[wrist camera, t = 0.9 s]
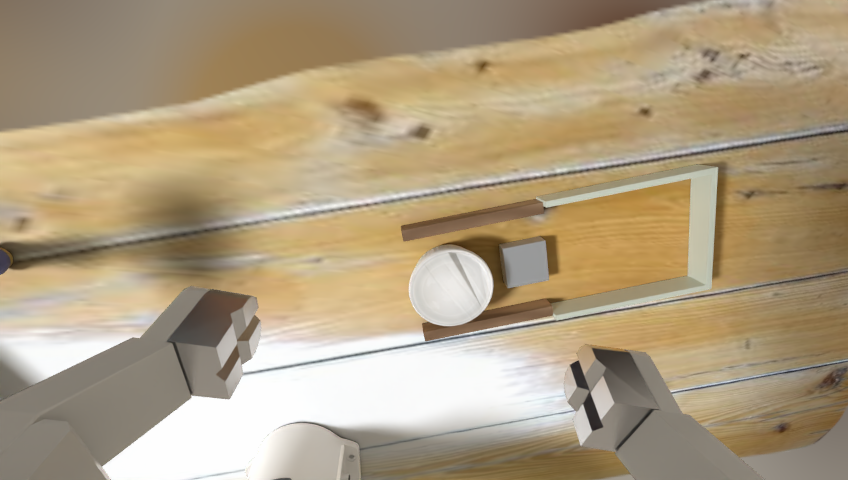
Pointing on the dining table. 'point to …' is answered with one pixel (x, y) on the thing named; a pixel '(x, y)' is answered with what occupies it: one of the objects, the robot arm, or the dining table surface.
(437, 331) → the runway rails
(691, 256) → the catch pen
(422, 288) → the ramekin
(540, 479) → the dining table surface
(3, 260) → the rubber mallet
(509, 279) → the slate tile
